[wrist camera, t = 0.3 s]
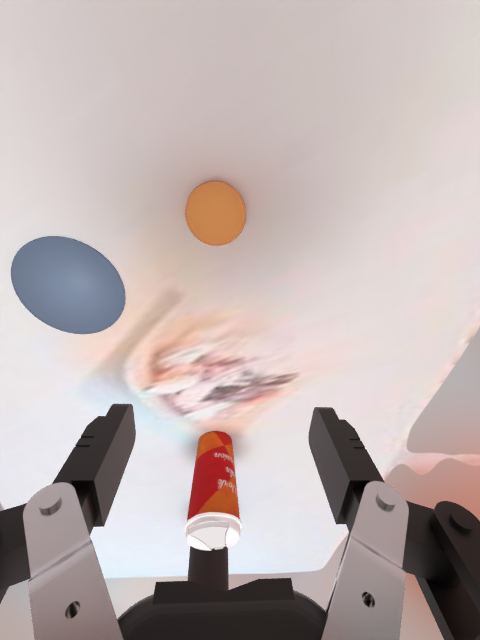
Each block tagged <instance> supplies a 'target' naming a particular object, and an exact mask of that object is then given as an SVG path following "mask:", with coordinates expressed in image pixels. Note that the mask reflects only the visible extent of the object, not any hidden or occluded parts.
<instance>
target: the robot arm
mask: <svg viewBox="0 0 480 640" xmlns="http://www.w3.org/2000/svg"><path fill="white" fill-rule="evenodd" d="M135 435H136V430H135V422H134V413H133V406H132V404H113V405H112V406H111V407H110V409H109V411H108V413H107V415H106V416H98V417H97V418H96V419H95V420H93V421H92V422H91V423H90V424H89V425H88V426H87V427H86V429H85V431H84V432H83V434H82V436H81V438H80V439H79V440H78V442H77V444H76V447H74V449H73V450H72V452H71V454H70V455H69V457H68V459H67V460H66V462H65V464H64V465H63V467H62V469H61V470H60V472H59V473H58V475H57V477H56V478H55V480H54V482H53V483H52V484H51V485H49V486H47V487H45V488H43V489H41V490H40V491H38V492H37V493H36V494H35V495H34V496H33V497H32V498H31V499H30V500H29V501H28V503H26V504H23V505H20V506H17V507H13V508H10V509H6V510H3V511H0V603H1V601H2V599H3V597H4V595H5V593H6V591H7V589H8V587H9V586H11V585H14V584H17V583H19V582H22V581H25V580H27V579H30V578H31V579H30V580H29V583H28V585H29V597H30V605H31V613H32V622H33V630H34V638H35V640H399V637H400V628H401V619H402V609H403V600H404V591H405V581H406V572H407V573H410V574H413V575H415V577H416V579H417V581H418V583H419V585H420V588H421V590H422V592H423V594H424V596H425V598H426V601H427V603H428V605H429V607H430V609H431V612H432V614H433V616H434V618H435V621H436V623H437V625H438V627H439V629H440V631H441V634H442V636H443V638H444V640H480V521H479V520H478V519H477V518H476V517H475V516H474V515H473V514H472V513H471V512H470V511H468V510H466V509H465V508H464V507H462V506H460V505H458V504H456V503H453V502H448V501H442V502H439V503H438V504H437V505H436V507H435V508H434V509H431V508H427V507H424V506H420V505H417V504H414V503H411V502H408V501H406V500H405V498H404V497H403V496H402V495H401V493H400V492H398V491H397V490H396V489H395V488H394V487H392V486H390V485H388V484H386V483H385V482H384V480H383V479H382V477H381V475H380V473H379V472H378V470H377V468H376V466H375V464H374V463H373V461H372V459H371V457H370V456H369V454H368V452H367V450H366V449H365V447H364V445H363V443H362V441H360V438H359V436H358V434H357V432H356V431H355V429H354V428H353V427H352V426H351V425H350V424H349V423H348V422H347V421H346V420H339V418H338V416H337V415H336V413H335V411H334V409H333V408H329V407H315V408H314V411H313V415H312V420H311V425H310V430H309V445H310V449H311V452H312V455H313V458H314V461H315V464H316V467H317V470H318V472H319V475H320V478H321V481H322V484H323V487H324V490H325V493H326V496H327V499H328V502H329V505H330V508H331V511H332V514H333V516H334V519H335V522H336V524H346V525H347V527H348V530H349V535H348V538H347V541H346V544H345V548H344V551H343V554H342V558H341V561H340V564H339V568H338V571H337V574H336V578H335V581H334V584H333V588H332V591H331V594H330V597H329V600H328V603H327V606H326V609H325V610H324V609H323V608H322V607H320V606H319V605H318V604H317V603H316V602H315V601H313V600H312V599H310V598H309V597H307V596H305V595H303V594H301V593H299V592H297V591H294V590H293V587H292V581H291V578H278V579H258V580H255V581H252V582H249V583H247V584H244V585H242V586H239V587H236V588H234V589H231V590H228V591H220V590H217V589H214V588H211V587H208V586H204V585H201V584H198V583H195V582H192V581H173V582H156V585H155V591H154V594H153V595H151V596H148V597H146V598H144V599H142V600H141V601H139V602H137V603H136V604H134V605H133V606H131V607H130V608H129V609H128V610H127V611H125V612H124V613H123V614H122V615H121V616H120V617H119V618H118V619H117V618H116V615H115V612H114V609H113V605H112V602H111V599H110V596H109V593H108V590H107V586H106V583H105V580H104V577H103V574H102V571H101V567H100V564H99V561H98V558H97V555H96V552H95V549H94V546H93V543H92V541H91V539H90V534H91V531H92V529H93V527H100V526H104V525H105V522H106V519H107V517H108V514H109V511H110V509H111V506H112V503H113V500H114V498H115V495H116V492H117V490H118V487H119V484H120V481H121V479H122V476H123V473H124V471H125V468H126V465H127V462H128V460H129V457H130V454H131V452H132V449H133V446H134V442H135Z"/></svg>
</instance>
